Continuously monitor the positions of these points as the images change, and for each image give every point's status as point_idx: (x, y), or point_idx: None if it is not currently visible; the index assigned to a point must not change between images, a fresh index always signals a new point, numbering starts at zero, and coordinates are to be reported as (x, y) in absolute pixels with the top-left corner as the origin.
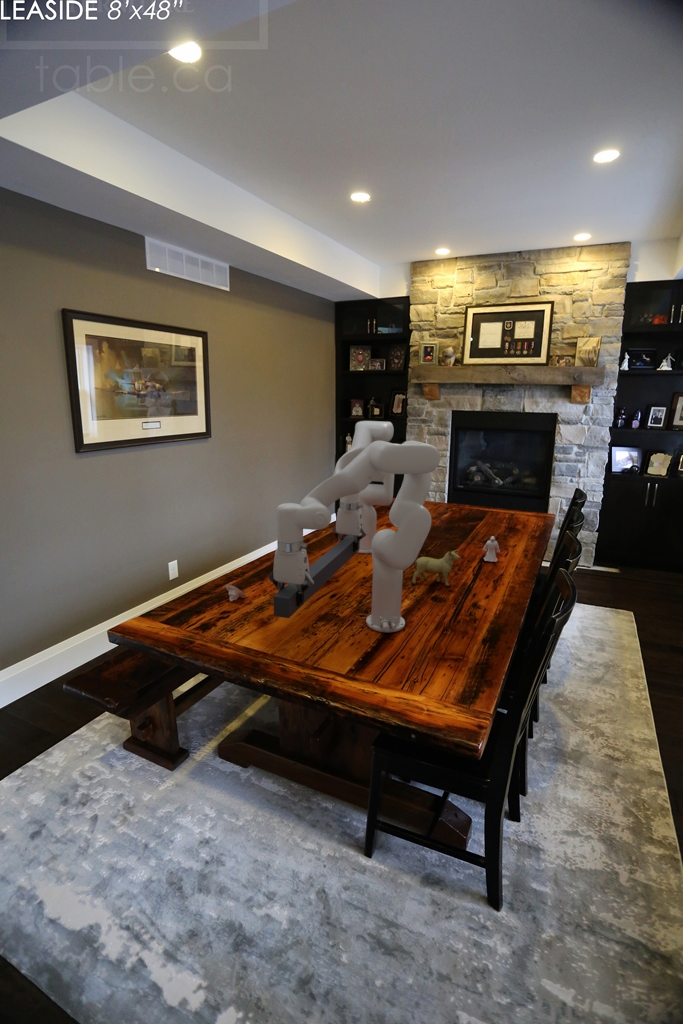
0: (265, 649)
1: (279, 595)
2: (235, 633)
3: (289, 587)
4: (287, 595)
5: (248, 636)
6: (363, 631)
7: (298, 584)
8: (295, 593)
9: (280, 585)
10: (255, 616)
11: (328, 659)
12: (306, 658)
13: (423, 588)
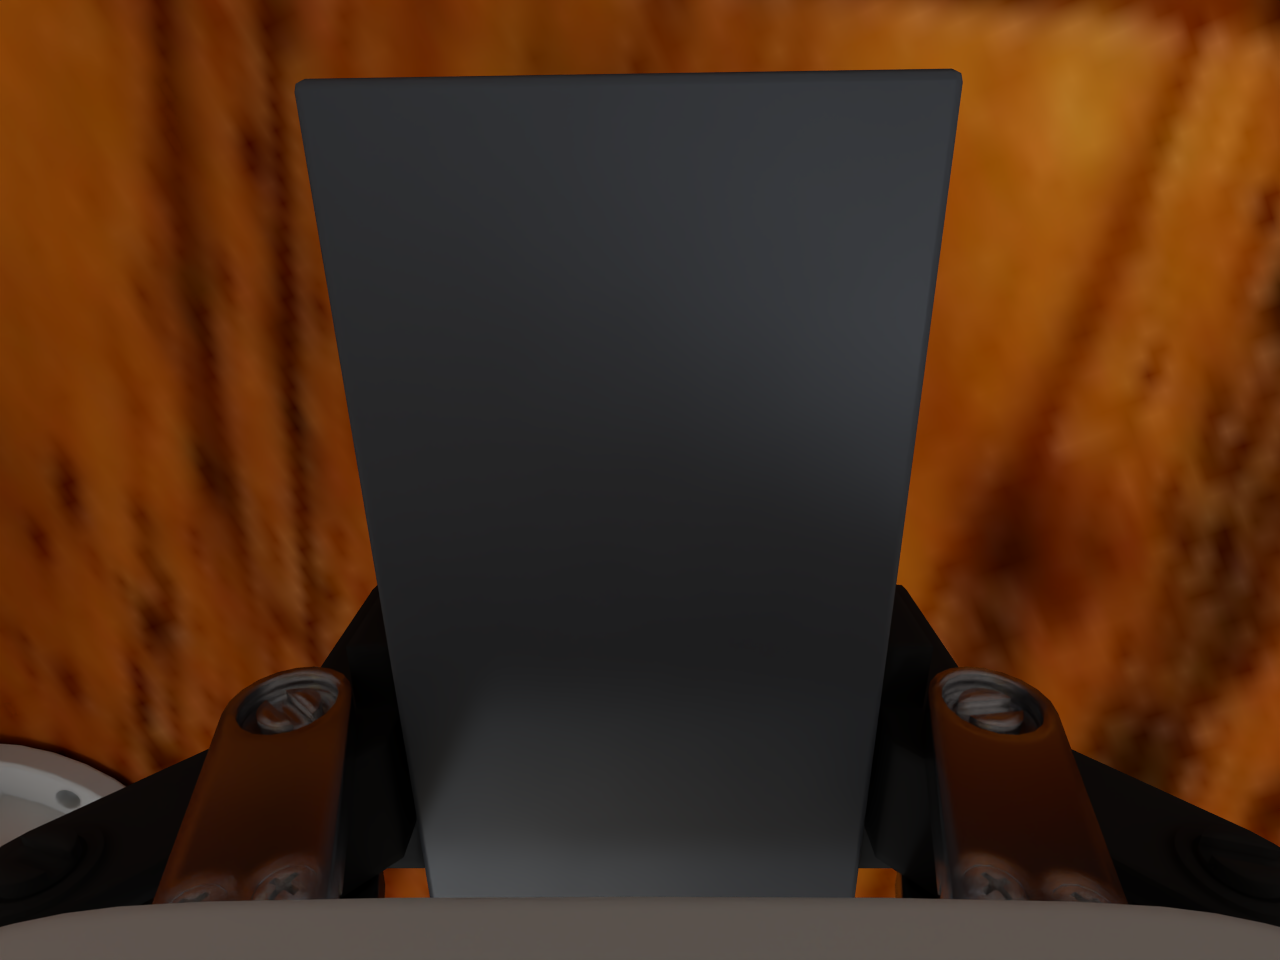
0: (789, 42)
1: (765, 246)
2: (1245, 249)
3: (721, 856)
4: (493, 349)
5: (1079, 243)
6: (120, 709)
7: (145, 906)
8: (389, 616)
9: (973, 790)
10: (1138, 630)
11: (78, 120)
12: (285, 41)
13: None
